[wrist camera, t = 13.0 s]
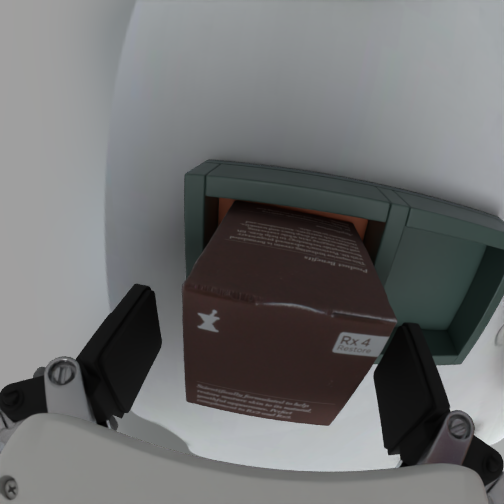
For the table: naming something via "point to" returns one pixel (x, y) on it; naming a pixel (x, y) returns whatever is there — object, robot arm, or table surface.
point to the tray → (376, 242)
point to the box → (282, 316)
